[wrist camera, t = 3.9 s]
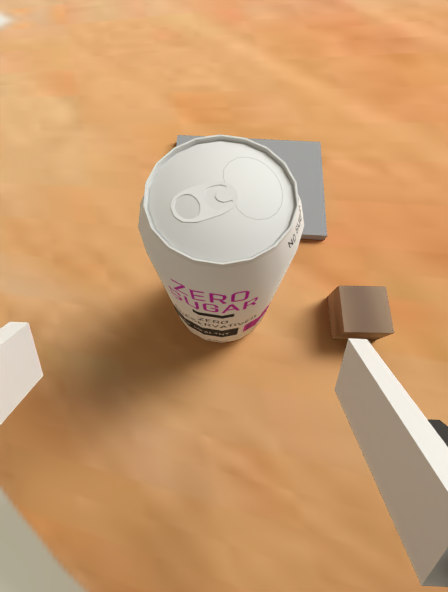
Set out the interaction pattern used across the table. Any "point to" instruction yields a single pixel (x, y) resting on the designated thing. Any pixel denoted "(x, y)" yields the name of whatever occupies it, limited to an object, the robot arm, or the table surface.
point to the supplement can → (221, 231)
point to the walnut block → (359, 313)
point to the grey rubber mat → (299, 179)
